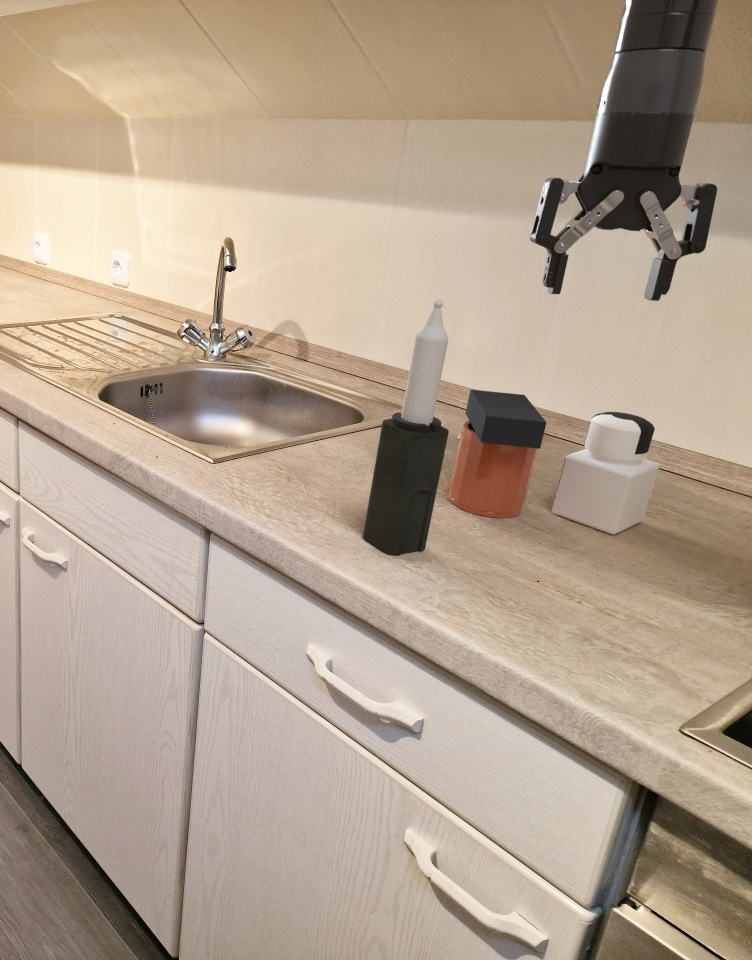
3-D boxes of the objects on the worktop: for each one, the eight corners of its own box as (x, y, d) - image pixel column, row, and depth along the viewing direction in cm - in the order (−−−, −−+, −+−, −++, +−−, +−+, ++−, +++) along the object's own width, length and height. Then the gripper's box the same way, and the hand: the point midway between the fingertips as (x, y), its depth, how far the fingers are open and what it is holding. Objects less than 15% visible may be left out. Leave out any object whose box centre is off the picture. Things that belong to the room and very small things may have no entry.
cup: (514, 495, 102) (531, 424, 98) (528, 522, 95) (547, 445, 91) (444, 487, 103) (458, 416, 100) (453, 512, 96) (469, 437, 93)
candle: (396, 529, 91) (440, 294, 82) (430, 550, 87) (480, 303, 77) (357, 535, 89) (398, 295, 80) (390, 556, 85) (437, 305, 75)
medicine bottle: (580, 500, 101) (606, 403, 97) (643, 522, 96) (674, 420, 92) (549, 513, 97) (575, 412, 93) (614, 536, 92) (644, 431, 87)
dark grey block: (519, 419, 100) (524, 394, 99) (540, 449, 90) (546, 422, 89) (465, 413, 101) (470, 389, 100) (480, 442, 91) (486, 415, 90)
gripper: (568, 106, 73) (529, 297, 79) (755, 110, 70) (701, 307, 76) (548, 111, 80) (514, 286, 86) (718, 115, 77) (670, 296, 83)
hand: (602, 296), depth 81 cm, fingers open, 8 cm apart
